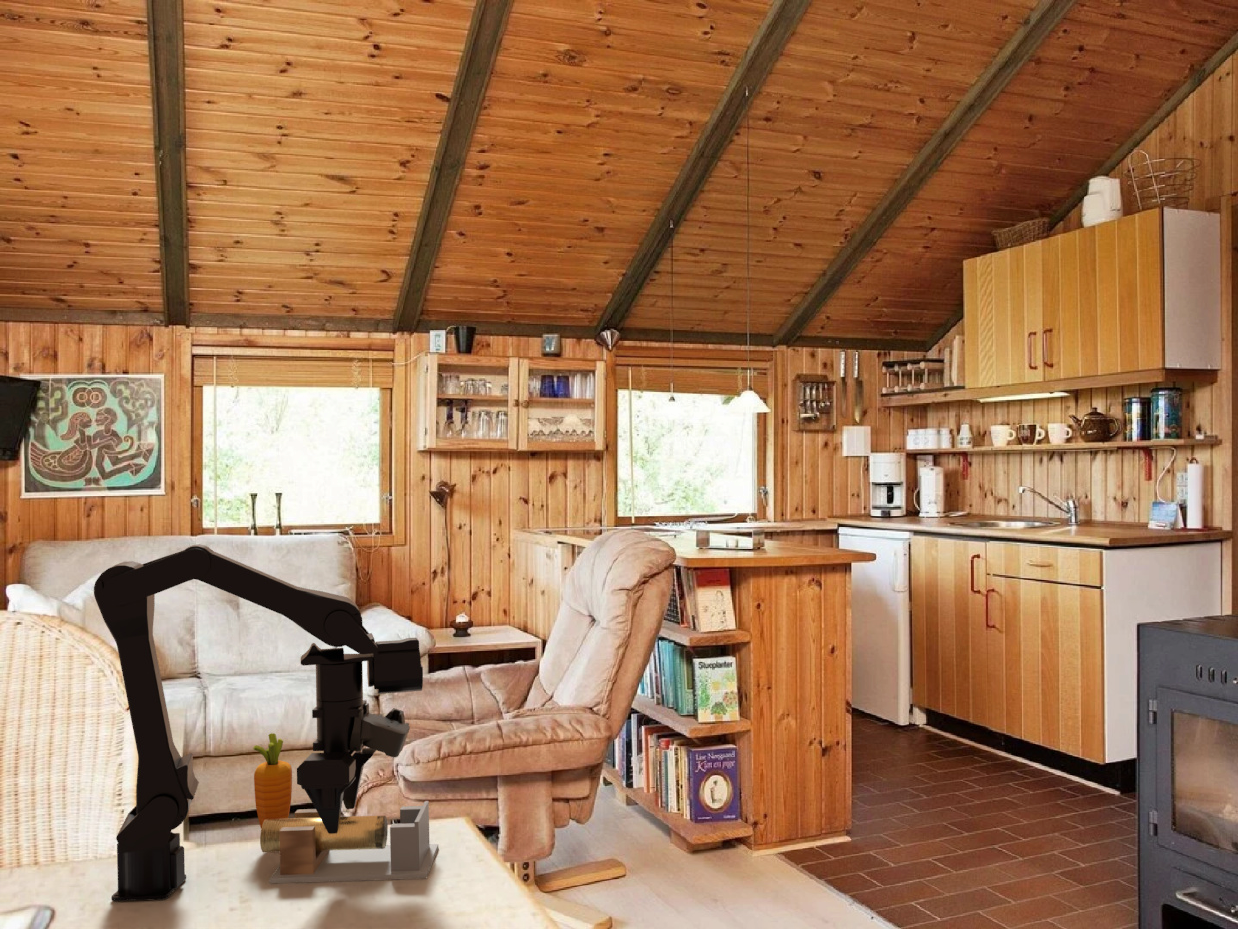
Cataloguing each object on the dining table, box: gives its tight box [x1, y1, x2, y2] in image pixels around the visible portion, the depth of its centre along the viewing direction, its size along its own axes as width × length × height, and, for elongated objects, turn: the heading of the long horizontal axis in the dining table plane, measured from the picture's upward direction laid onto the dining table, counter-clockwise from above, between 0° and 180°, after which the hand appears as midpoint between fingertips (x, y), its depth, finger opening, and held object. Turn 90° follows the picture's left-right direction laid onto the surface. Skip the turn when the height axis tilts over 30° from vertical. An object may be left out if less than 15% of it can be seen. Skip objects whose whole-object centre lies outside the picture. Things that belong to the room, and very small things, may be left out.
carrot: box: [253, 732, 293, 829], centre depth 139 cm, size 5×5×15 cm
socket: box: [389, 800, 430, 871], centre depth 132 cm, size 4×8×6 cm, turn 1°
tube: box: [259, 814, 389, 853], centre depth 132 cm, size 15×4×4 cm, turn 92°
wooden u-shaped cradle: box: [279, 808, 328, 875], centre depth 132 cm, size 4×8×5 cm, turn 2°
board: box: [269, 843, 439, 884], centre depth 132 cm, size 19×10×1 cm, turn 92°
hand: (342, 820), depth 132 cm, fingers open, 9 cm apart
